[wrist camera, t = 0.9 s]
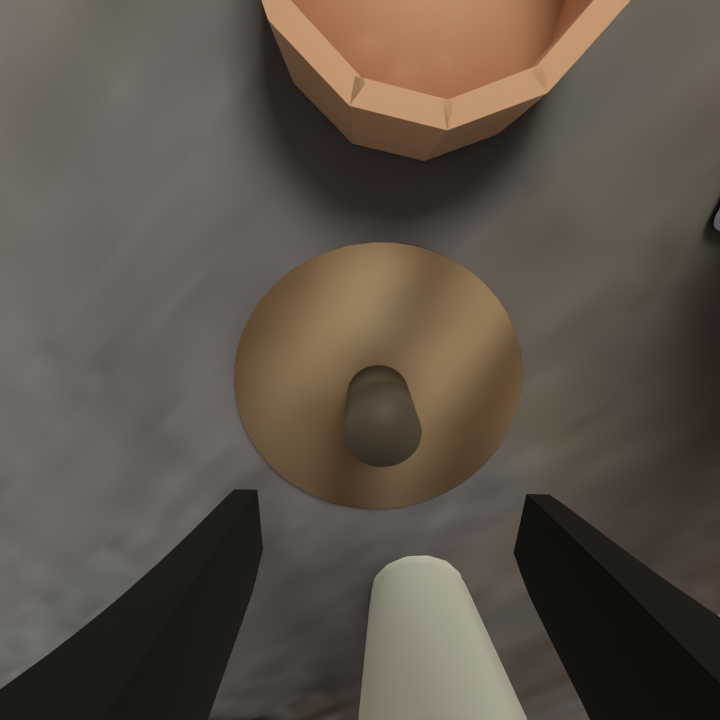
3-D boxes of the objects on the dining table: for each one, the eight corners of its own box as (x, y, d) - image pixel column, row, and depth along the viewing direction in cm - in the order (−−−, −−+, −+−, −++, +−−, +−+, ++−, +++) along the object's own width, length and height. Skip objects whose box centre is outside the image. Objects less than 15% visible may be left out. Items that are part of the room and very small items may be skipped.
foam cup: (387, 652, 25) (415, 1052, 12) (323, 571, 22) (276, 974, 10) (507, 608, 23) (673, 1011, 11) (453, 515, 21) (588, 908, 8)
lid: (557, 278, 17) (636, 290, 12) (465, 515, 21) (496, 591, 16) (256, 211, 16) (210, 194, 11) (229, 474, 20) (189, 543, 15)
